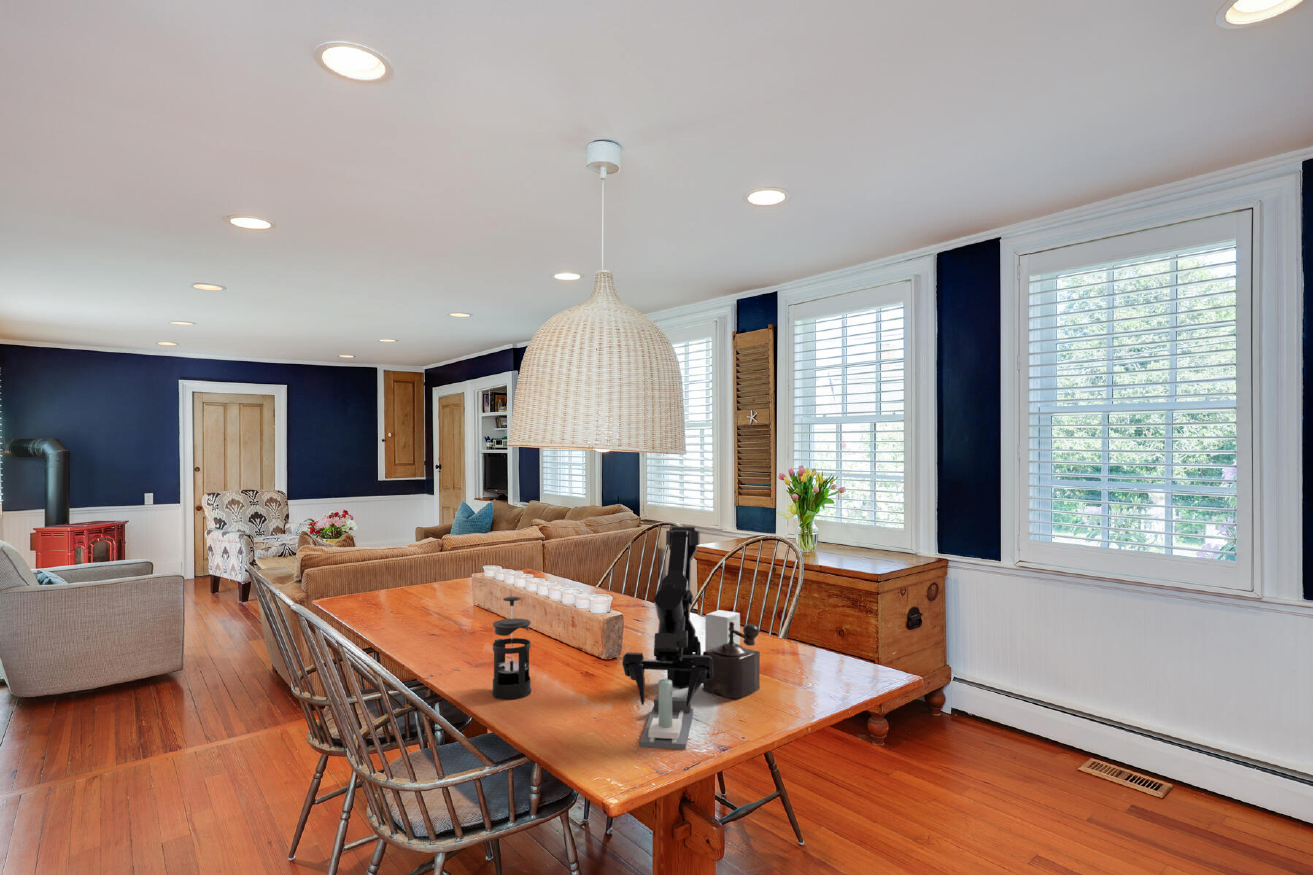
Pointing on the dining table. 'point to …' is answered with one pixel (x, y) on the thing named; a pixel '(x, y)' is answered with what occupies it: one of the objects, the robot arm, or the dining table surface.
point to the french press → (511, 674)
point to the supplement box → (720, 628)
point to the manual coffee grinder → (735, 666)
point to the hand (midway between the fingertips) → (664, 704)
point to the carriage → (665, 715)
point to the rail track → (678, 712)
